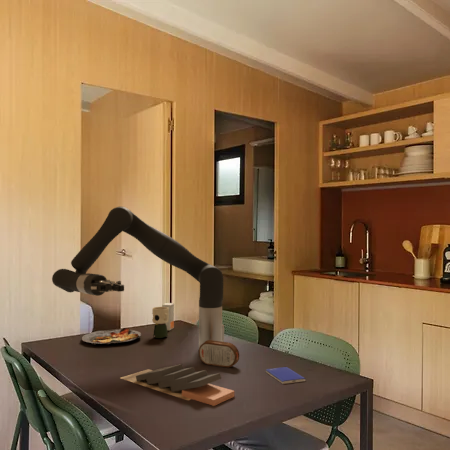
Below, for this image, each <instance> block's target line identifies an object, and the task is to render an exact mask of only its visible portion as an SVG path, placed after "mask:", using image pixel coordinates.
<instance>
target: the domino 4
mask: <svg viewBox="0 0 450 450" xmlns="http://www.w3.org/2000/svg"><path fill="white" fill-rule="evenodd" d="M219 380H222V375H221V373H220V372H218V373H214V374H208V375H207V376H205V377H202V378H199V379H197V380H194V381H191V382H189V383H185V384H180V385H175V386H170V387H171V391H172V392H174V391H179V390H185V389H191V388H196V387H201V386H204V385H206V384H212V383H213V382H217V381H219Z"/></svg>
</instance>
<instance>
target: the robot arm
mask: <svg viewBox="0 0 450 450" xmlns="http://www.w3.org/2000/svg"><path fill="white" fill-rule="evenodd" d="M123 232H124V233H126V234H128V235H130V236H132V237H133V238H134V239H136V240H137V241H138V242H140V244H142V245H143V246H144V247H145V248H146V249H147V250H148V251H149V252H150V253H152V254H153V255H154V256H156V257H158V258H159V259H160V260H162V261H163V262H166V263H167V264H169V265H171V266H172V267H175V268H177V269H179V270H182V271H184V272H185V273H187V274H188V275H189V276H191V278H193V279H194V280H195V281H197V282H198V283H199V297H198V299H199V300H198V348H199V347H200V346H201V345H202V344H203V343H204V342H205V341H208V340H213V341H220V342H225V325H224V324H223V301H224V274H223V272H222V270H221V269H220V268H218V267H217V266H214V265H213V264H211V263H208V262H206V261H204V260H202V259H201V258H199V257H197V256H195V255H194V254H193V253H192V252H191V251H189V250H188V248H186V247H185V245H183V244H182V243H180V242H179V241H177V240H176V239H174V238H173V237H172V236H169V235H168V234H166V233H165V232H163V231H161V230H159V229H157V228H155V227H154V226H152V225H149V224H148V223H146V222H145V221H144V220H142V219H141V218H140V217H138V215H137V214H135V213H134V212H132V210H131V209H129V208H128V207H126V206H116V207H114V208H112V209H111V210H110V211H109V212H108V214H107V217H106V218H105V220H104V222H103V223H102V224H101V226H100V227H99V229H98V230H97V231H96V233H95V234H94V235H93V236H92V238H91V239H90V240H89V241H88V242H87V243H86V244H84V246H83V247H82V248H81V249H80V250H79V251H78V253H76V255H75V256H74V257H73V258H72V260H71V261H70V265H71V267H72V268H73V269H74V270H75V271H73V270H71V269H68V268H67V269H66V268H59V269H57V270H56V271H55V272H53V275H52V277H51V280H52V281H51V282H52V284H53V285H54V286H55V287H56V288H59V289H60V290H63V291H65V292H67V293H74V292H77V293H82V294H85V295H92V296H95V297H96V296H102V295H104V294H105V293H110V292H118V293H120V292H121V293H122V292H124V291H125V285H124V284H122V281H121V280H117V281H114V280H110V279H107V278H106V276H104V275H103V274H100V273H99V274H98V273H91V272H90V273H89V272H88V271H89V270H90V269H91V268H92V266H93V265H94V264H95V263H96V262H97V260H98V259H99V258H100V257H101V255H102V253H103V252H104V251H105V250H106V248H107V247H108V245H109V244H110V243H111V242H112V241H113V240H114V239H115V238H116V237H117V236H119V235H120V234H121V233H123ZM87 272H88V273H87Z"/></svg>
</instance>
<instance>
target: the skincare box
mask: <svg viewBox="0 0 450 450" xmlns="http://www.w3.org/2000/svg"><path fill="white" fill-rule="evenodd" d="M161 307H168V308H169V321H168V322H167V323H165V324H166V326H167V331H171V330H173V329H174V327H175V303H173V302H165V303H163V304H162V305H161Z"/></svg>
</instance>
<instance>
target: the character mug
mask: <svg viewBox="0 0 450 450" xmlns="http://www.w3.org/2000/svg"><path fill="white" fill-rule="evenodd" d="M151 314H152V324H154V326H153V337H154V338H156V339H163V338H165V337H166V338H167V337H168V330H167V326H166V324H165V323H167V322H168V321H169V308H168V307H162V306H154V307H152V313H151Z"/></svg>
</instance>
